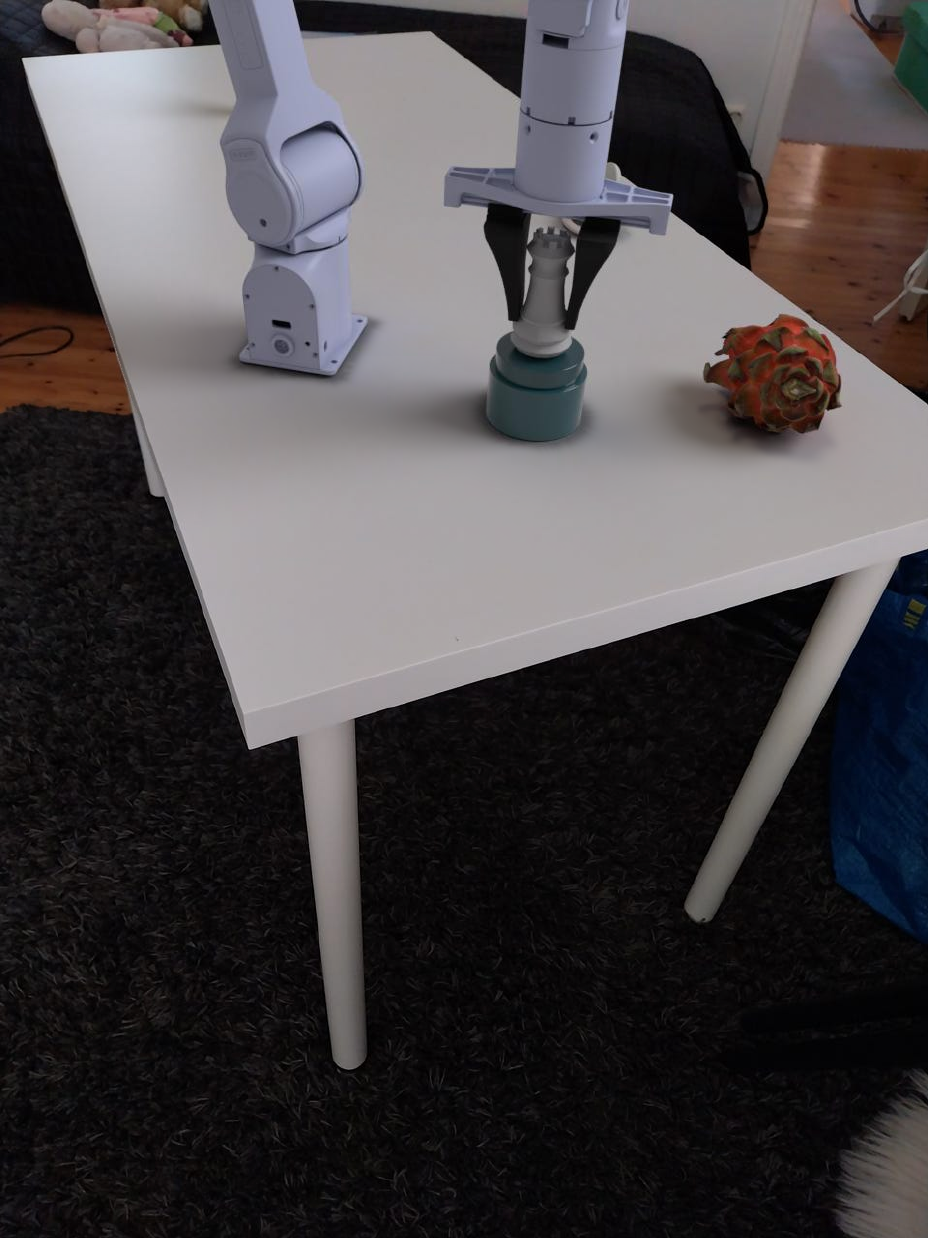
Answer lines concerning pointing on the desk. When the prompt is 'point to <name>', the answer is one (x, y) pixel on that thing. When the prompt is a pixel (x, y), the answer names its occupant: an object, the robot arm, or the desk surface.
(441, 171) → the desk surface
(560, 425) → the teal jar with lid
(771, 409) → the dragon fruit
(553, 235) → the rook chess piece
